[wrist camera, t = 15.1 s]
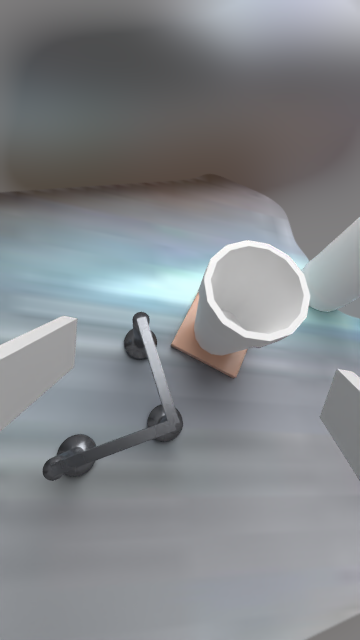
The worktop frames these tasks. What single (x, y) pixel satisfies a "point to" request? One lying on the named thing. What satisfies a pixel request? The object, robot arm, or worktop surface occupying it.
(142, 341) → the bent rail
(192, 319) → the coaster
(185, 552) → the worktop surface
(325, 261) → the bottle
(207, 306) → the foam cup
